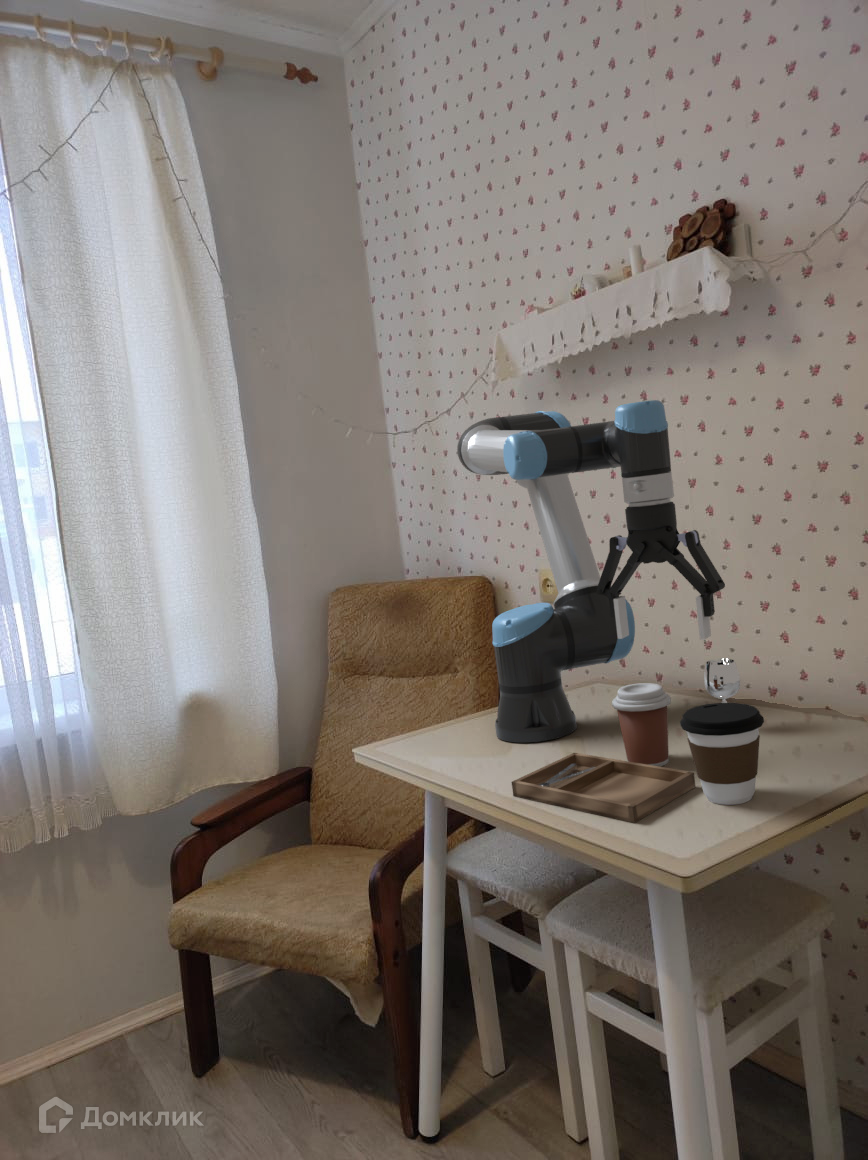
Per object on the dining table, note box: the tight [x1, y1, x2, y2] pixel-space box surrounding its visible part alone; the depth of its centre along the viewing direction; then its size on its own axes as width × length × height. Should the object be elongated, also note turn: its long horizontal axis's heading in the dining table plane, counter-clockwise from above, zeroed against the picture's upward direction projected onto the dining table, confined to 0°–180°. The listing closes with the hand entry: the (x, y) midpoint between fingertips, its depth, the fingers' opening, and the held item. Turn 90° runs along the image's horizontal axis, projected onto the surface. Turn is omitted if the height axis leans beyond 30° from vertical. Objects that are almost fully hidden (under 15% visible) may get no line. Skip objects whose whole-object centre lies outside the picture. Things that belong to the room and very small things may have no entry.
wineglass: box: [703, 658, 741, 703], centre depth 152 cm, size 6×6×12 cm
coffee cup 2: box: [679, 702, 765, 806], centre depth 123 cm, size 11×11×12 cm
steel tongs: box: [539, 764, 595, 788], centre depth 136 cm, size 11×5×1 cm, turn 132°
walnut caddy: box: [511, 752, 696, 824], centre depth 132 cm, size 22×15×2 cm
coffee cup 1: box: [611, 682, 672, 767], centre depth 141 cm, size 9×9×12 cm
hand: (663, 637), depth 140 cm, fingers open, 13 cm apart
